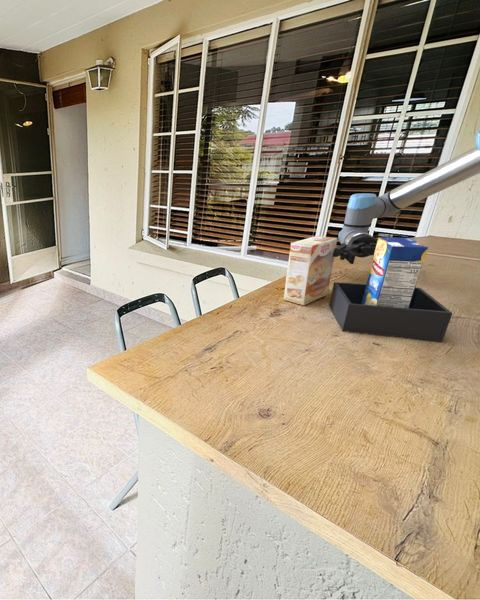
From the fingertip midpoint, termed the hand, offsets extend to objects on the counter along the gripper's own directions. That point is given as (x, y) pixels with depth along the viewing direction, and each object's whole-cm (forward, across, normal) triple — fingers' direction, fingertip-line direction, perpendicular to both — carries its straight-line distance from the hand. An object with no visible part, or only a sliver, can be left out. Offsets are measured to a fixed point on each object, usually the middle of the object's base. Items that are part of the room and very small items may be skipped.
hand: (381, 260), depth 101 cm
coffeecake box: (-5, +16, -15) cm, 23 cm away
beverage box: (+10, 0, -14) cm, 18 cm away
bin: (+10, 0, -15) cm, 18 cm away
